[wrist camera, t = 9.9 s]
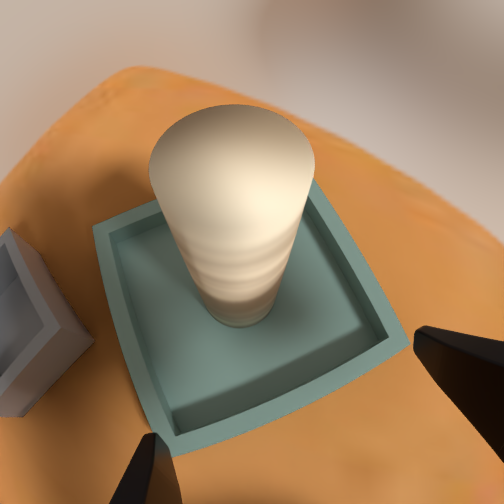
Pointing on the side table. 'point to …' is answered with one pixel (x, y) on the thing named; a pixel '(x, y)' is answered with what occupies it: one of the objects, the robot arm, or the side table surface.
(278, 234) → the rounded wooden peg
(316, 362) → the green-grey tray
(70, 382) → the side table surface
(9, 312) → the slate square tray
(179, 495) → the robot arm
